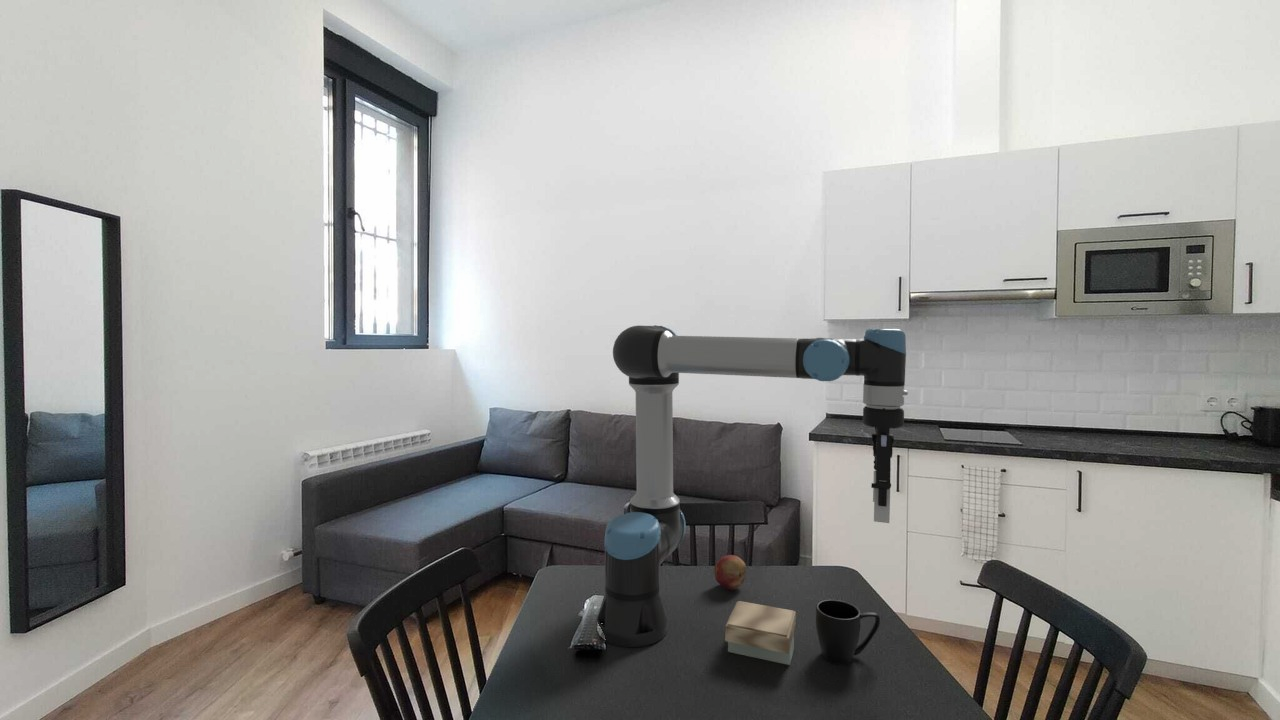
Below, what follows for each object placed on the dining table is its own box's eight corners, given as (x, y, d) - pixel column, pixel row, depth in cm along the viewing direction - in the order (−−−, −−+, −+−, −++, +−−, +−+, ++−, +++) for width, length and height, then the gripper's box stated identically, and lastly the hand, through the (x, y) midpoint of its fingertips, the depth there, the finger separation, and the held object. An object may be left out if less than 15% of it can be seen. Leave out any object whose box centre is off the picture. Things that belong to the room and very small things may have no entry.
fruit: (724, 597, 136) (724, 564, 136) (708, 584, 144) (708, 553, 143) (751, 592, 139) (752, 559, 139) (734, 579, 147) (735, 548, 146)
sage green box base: (727, 651, 113) (728, 634, 113) (734, 636, 119) (734, 620, 119) (789, 665, 109) (790, 647, 109) (793, 648, 114) (794, 631, 114)
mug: (885, 671, 107) (887, 621, 107) (820, 667, 108) (821, 618, 108) (872, 647, 115) (873, 601, 115) (811, 644, 116) (812, 598, 116)
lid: (725, 640, 111) (725, 624, 111) (737, 614, 121) (737, 599, 121) (788, 654, 106) (788, 636, 106) (795, 625, 117) (795, 610, 116)
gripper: (908, 415, 101) (905, 534, 102) (900, 400, 124) (897, 496, 125) (863, 413, 103) (860, 528, 105) (863, 398, 127) (861, 493, 128)
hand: (880, 511), depth 115 cm, fingers open, 13 cm apart
